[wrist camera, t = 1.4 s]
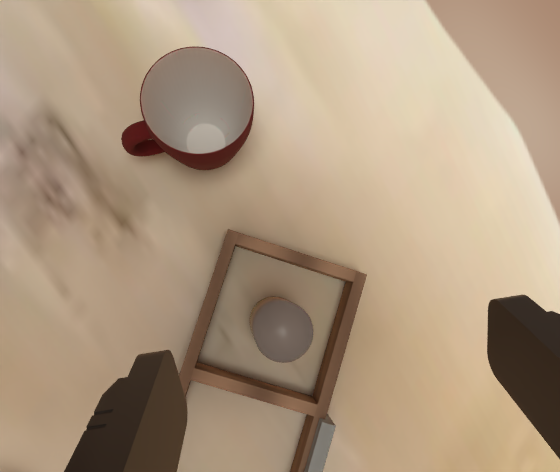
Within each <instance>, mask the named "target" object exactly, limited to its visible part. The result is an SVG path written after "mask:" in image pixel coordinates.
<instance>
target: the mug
mask: <svg viewBox="0 0 560 472" xmlns="http://www.w3.org/2000/svg"><path fill="white" fill-rule="evenodd" d="M140 106H141V112H142V115H143V118H144V121H140V122H137V123H134V124H132V125H130V126H129V127H127V128H126V129H125V131H124V132H123V133H122V138H121V140H122V145H123V147H124V149H125V150H126V151H127V152H128V153H129V154H131V155H134V156H150V155H155V154H159V153H162V152H166V153H167V154H169V155H170V156H171V157H173V158H174V159H176V160H178V161H179V162H181V163H183V164H185V165H186V166H189V167H191V168H194V169H199V170H210V169H215V168H218V167H221V166H223V165H224V164H226V163H227V162H229V161H230V160H231V159H232V158H233V157H234V156H235V154H236V153H237V152H238V151H239V149H240V148H241V147H242V145H243V144H244V142H245V141H246V139H247V137H248V135H249V132H250V129H251V126H252V121H253V113H254V96H253V91H252V87H251V84H250V82H249V80H248V78H247V76H246V74H245V73H244V71H243V70H242V68H241V67H240V66H239V65H238V64H237V63H236V62H235V61H234V60H232V59H231V58H230V57H228V56H227V55H225V54H223V53H221V52H219V51H216V50H213V49H210V48H205V47H186V48H181V49H177V50H174V51H172V52H170V53H168V54H166V55H164V56H163V57H161V58H160V59H159V60H158V61H157V62H156V63H155V64H154V65H153V66H152V67H151V68H150V70H149V71H148V73H147V74H146V76H145V78H144V81H143V84H142V87H141V93H140ZM148 139H152V140H148Z"/></svg>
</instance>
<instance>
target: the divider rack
mask: <svg viewBox="0 0 560 472" xmlns="http://www.w3.org/2000/svg"><path fill="white" fill-rule="evenodd" d="M235 246H238V247H241V248H244V249H247V250H250V251H253V252H256V253H259V254H262V255H265V256H268V257H272V258H275V259H278V260H281V261H284V262H287V263H290V264H293V265H296V266H299V267H302V268H306V269H309V270H312V271H315V272H318V273H321V274H324V275H327V276H330V277H333V278H336V279H340V280H343V281H346V283H345V286H344V290H343V293H342V297H341V300H340V304H339V307H338V310H337V314H336V317H335V321H334V324H333V327H332V331H331V334H330V338H329V341H328V344H327V348H326V351H325V355H324V358H323V361H322V365H321V368H320V372H319V375H318V379H317V382H316V385H315V389H314V392H313V396H309V395H305V394H302V393H298V392H295V391H292V390H288V389H285V388H282V387H278V386H275V385H272V384H268V383H265V382H262V381H258V380H255V379H252V378H248V377H245V376H242V375H238V374H235V373H232V372H228V371H225V370H222V369H218V368H215V367H211V366H208V365H205V364H201V363H198V362H197V360H198V357H199V354H200V351H201V348H202V345H203V342H204V339H205V336H206V333H207V330H208V327H209V323H210V320H211V317H212V314H213V311H214V308H215V305H216V302H217V299H218V296H219V293H220V290H221V287H222V284H223V281H224V278H225V275H226V272H227V269H228V266H229V263H230V260H231V257H232V254H233V251H234V248H235ZM366 276H367V274H364V273H360V272H357V271H354V270H351V269H348V268H345V267H342V266H339V265H336V264H333V263H330V262H327V261H324V260H321V259H318V258H314V257H311V256H308V255H305V254H302V253H299V252H296V251H293V250H290V249H287V248H284V247H281V246H278V245H275V244H272V243H268V242H265V241H262V240H259V239H256V238H253V237H250V236H247V235H244V234H241V233H238V232H235V231H232V230H229V229H228V231H227V234H226V237H225V240H224V243H223V246H222V249H221V252H220V255H219V258H218V261H217V264H216V267H215V270H214V273H213V276H212V279H211V282H210V285H209V288H208V291H207V294H206V297H205V300H204V303H203V306H202V309H201V312H200V315H199V318H198V321H197V324H196V327H195V330H194V333H193V336H192V339H191V342H190V345H189V348H188V351H187V354H186V357H185V360H184V363H183V366H182V369H181V372H180V375H179V378H180V381H181V385H182V388H183V391H184V395H185V396H186V393H187V390H188V387H189V384H190V381H191V380H193V381H196V382H199V383H203V384H206V385H209V386H213V387H216V388H220V389H223V390H226V391H230V392H233V393H237V394H240V395H243V396H247V397H250V398H254V399H257V400H260V401H264V402H267V403H270V404H274V405H277V406H281V407H284V408H287V409H291V410H294V411H298V412H301V413H304V414H307V416H306V419H305V423H304V426H303V430H302V433H301V437H300V440H299V443H298V447H297V450H296V454H295V457H294V460H293V464H292V467H291V471H290V472H323V469H324V465H325V462H326V458H327V455H328V451H329V448H330V444H331V441H332V437H333V434H334V430H335V427H336V426H335V424H334V423H333V421H332V420H331V418H330V417H329V416H328V414H327V412H328V408H329V405H330V401H331V398H332V394H333V391H334V387H335V384H336V380H337V377H338V374H339V370H340V367H341V363H342V360H343V356H344V353H345V349H346V346H347V342H348V339H349V335H350V332H351V328H352V325H353V321H354V318H355V314H356V311H357V307H358V304H359V300H360V297H361V294H362V290H363V287H364V283H365V280H366Z"/></svg>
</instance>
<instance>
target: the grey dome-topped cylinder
mask: <svg viewBox="0 0 560 472" xmlns="http://www.w3.org/2000/svg"><path fill="white" fill-rule="evenodd" d="M250 328H251V331H252V334H253V336H254V339H255V342H256V344H257V347H258V348H259V350H260V351H261V353H262V354H263V355H264V356H266V357H267V358H269V359H270V360H273V361H276V362H282V363H284V362H291V361H294V360H296V359H298V358H300V357H301V356H302V355H303V354H304V353H305V352H306V351H307V350H308V348H309V347H310V345H311V342H312V339H313V325H312V321H311V319H310V317H309V315H308V314H307V313H306V311H305V310H304V309H302V308H301V307H300V306H298V305H296V304H294V303H292V302H289V301H287V300H285V299H283V298H280V297H267V298H265V299H262V300H261V301H259V302H258V303H257V304H256V305H255V306H254V308H253V310H252V312H251V314H250Z"/></svg>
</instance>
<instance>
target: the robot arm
mask: <svg viewBox="0 0 560 472" xmlns="http://www.w3.org/2000/svg"><path fill="white" fill-rule="evenodd" d="M487 354H488V360H489V364H490V367H491V369H492V371H493V373H494V375H495V377H496V378H497V380H498V381H499V382H500V383H501V385H502V386H503V387H504V389H505V390H506V391H507V392H508V394H509V395H510V396H511V397H512V399H513V400H514V401H515V403H516V404H517V405H518V406H519V408H520V409H521V410H522V411H523V413H524V414H525V415H526V417H527V418H528V419H529V420H530V422H531V423H532V424H533V426H534V427H535V428H536V429H537V431H538V432H539V433H540V434H541V436H542V437H543V438H544V440H545V441H546V442H547V443H548V445H549V446H550V447H551V449H552V450H553V451H554V452H555V454H556V455H557V456H558V457H559V459H560V314H558V313H555V312H553V311H550V312H546V311H545V310H544V309H542V308H541V307H540V306H539V305H538V304H536V303H535V302H534V301H533V300H531V299H530V298H529V297H528V296H526V295H517V296H511V297H505V298H498V299H493V300H491V301H490V303H489V306H488V342H487ZM186 425H187V404H186V398H185V395H184V391H183V388H182V385H181V381H180V378H179V375H178V371H177V368H176V364H175V361H174V358H173V355H172V353H171V352H170V351H169V350H165V351H158V352H152V353H146V354H139V355H138V356H137V357H136V359H135V362H134V364H133V366H132V368H131V371H130V373H129V375H128V377H125V378H119V379H118V380H117V381H116V382H115V383H114V384H113V385H112V386H111V387H110V388H109V389H108V390H107V391H106V392H105V393H104V394H103V395H102V397H101V399H100V401H99V403H98V405H97V407H96V409H95V411H94V416H92V417H91V419H90V421H89V423H88V425H87V430H86V431H84V433H83V435H82V437H81V439H80V441H79V443H78V445H77V447H76V449H75V451H74V453H73V455H72V457H71V459H70V461H69V463H68V465H67V467H66V469H65V471H64V472H177V467H178V463H179V458H180V453H181V449H182V444H183V439H184V435H185V430H186Z"/></svg>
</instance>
